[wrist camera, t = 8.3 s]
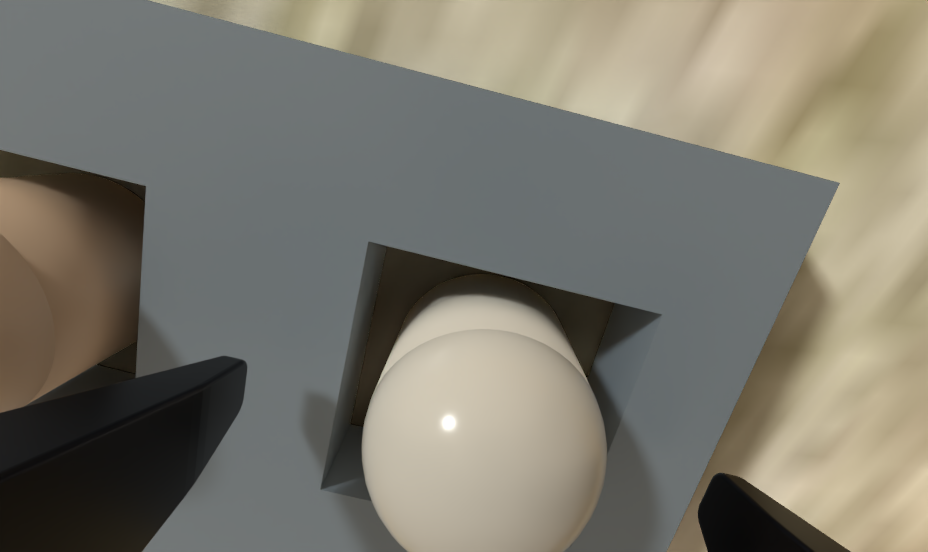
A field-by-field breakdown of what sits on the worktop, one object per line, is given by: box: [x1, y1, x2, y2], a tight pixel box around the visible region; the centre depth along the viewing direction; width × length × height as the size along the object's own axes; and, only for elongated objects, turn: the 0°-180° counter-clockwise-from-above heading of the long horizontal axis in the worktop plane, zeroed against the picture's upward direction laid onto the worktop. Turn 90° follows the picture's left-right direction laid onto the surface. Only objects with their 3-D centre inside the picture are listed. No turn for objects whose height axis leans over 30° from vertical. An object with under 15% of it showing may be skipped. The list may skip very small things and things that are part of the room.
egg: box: [362, 274, 607, 552], centre depth 9 cm, size 4×4×6 cm
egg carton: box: [0, 0, 840, 552], centre depth 9 cm, size 20×12×6 cm, turn 76°
